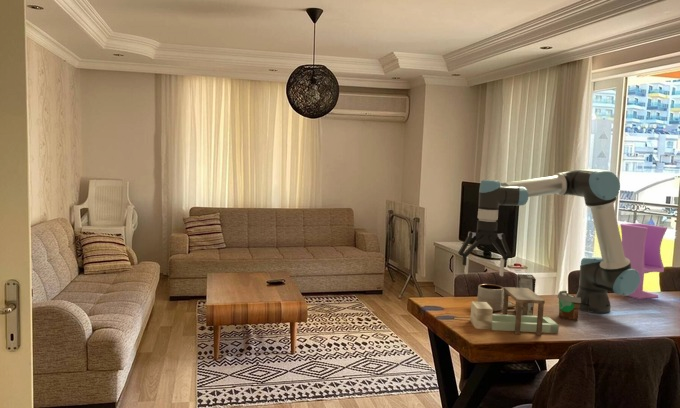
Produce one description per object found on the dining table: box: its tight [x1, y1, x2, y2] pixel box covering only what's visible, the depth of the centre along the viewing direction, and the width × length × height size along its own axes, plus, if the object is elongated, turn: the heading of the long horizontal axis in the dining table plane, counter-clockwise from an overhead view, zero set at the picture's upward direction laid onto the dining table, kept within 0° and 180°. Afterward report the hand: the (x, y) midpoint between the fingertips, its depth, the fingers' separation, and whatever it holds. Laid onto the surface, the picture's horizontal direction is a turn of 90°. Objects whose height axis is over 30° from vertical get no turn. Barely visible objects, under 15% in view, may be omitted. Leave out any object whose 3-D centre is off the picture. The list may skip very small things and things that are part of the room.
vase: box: [620, 223, 668, 300], centre depth 269 cm, size 16×16×35 cm
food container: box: [556, 290, 581, 322], centre depth 225 cm, size 12×6×10 cm, turn 5°
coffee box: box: [514, 273, 537, 316], centre depth 228 cm, size 9×6×16 cm
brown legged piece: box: [502, 286, 545, 336], centre depth 210 cm, size 10×19×13 cm, turn 178°
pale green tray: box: [491, 313, 560, 334], centre depth 210 cm, size 25×12×3 cm, turn 88°
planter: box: [476, 283, 504, 312], centre depth 235 cm, size 11×11×10 cm
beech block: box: [469, 301, 494, 330], centre depth 211 cm, size 6×10×8 cm, turn 178°
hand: (483, 274), depth 209 cm, fingers open, 13 cm apart
